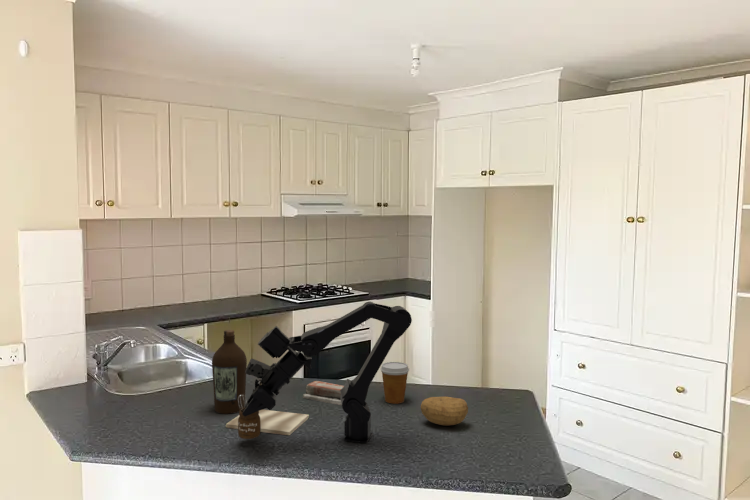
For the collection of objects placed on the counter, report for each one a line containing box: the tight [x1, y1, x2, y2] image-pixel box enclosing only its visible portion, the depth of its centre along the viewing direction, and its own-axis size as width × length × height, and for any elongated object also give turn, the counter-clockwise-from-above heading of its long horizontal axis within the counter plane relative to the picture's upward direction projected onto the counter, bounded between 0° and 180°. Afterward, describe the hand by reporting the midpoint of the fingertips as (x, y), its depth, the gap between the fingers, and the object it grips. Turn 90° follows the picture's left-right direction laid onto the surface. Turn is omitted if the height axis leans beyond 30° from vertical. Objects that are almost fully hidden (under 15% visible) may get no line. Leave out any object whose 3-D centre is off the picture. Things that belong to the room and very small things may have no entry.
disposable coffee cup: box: [380, 361, 410, 405], centre depth 187 cm, size 10×10×12 cm
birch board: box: [225, 409, 310, 436], centre depth 167 cm, size 20×14×1 cm
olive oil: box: [211, 329, 248, 415], centre depth 177 cm, size 11×11×25 cm
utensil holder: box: [237, 395, 262, 440], centre depth 151 cm, size 6×6×12 cm
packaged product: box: [302, 380, 344, 406], centre depth 189 cm, size 18×5×10 cm
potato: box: [420, 396, 469, 427], centre depth 166 cm, size 10×14×8 cm
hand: (244, 411), depth 151 cm, fingers closed on utensil holder, 5 cm apart
